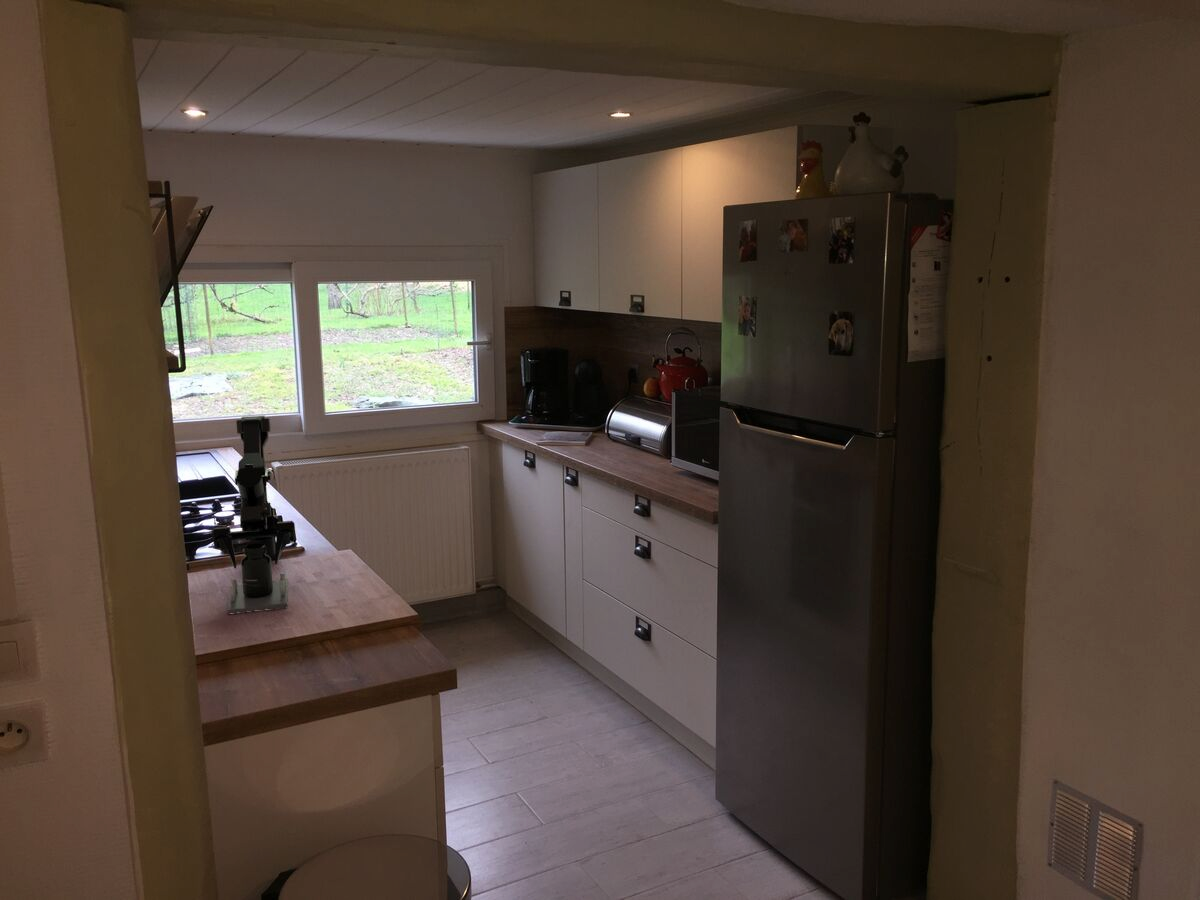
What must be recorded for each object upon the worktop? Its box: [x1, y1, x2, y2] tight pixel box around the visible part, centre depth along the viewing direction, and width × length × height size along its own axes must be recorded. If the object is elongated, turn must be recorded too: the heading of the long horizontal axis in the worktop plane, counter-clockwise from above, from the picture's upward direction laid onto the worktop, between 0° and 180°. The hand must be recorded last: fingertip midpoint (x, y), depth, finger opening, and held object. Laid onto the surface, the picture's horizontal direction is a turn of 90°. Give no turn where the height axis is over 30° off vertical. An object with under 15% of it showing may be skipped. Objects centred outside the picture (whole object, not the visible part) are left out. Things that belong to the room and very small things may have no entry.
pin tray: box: [227, 572, 289, 615], centre depth 231 cm, size 18×13×5 cm
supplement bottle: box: [240, 543, 274, 598], centre depth 231 cm, size 7×7×12 cm
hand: (255, 565), depth 229 cm, fingers open, 9 cm apart
